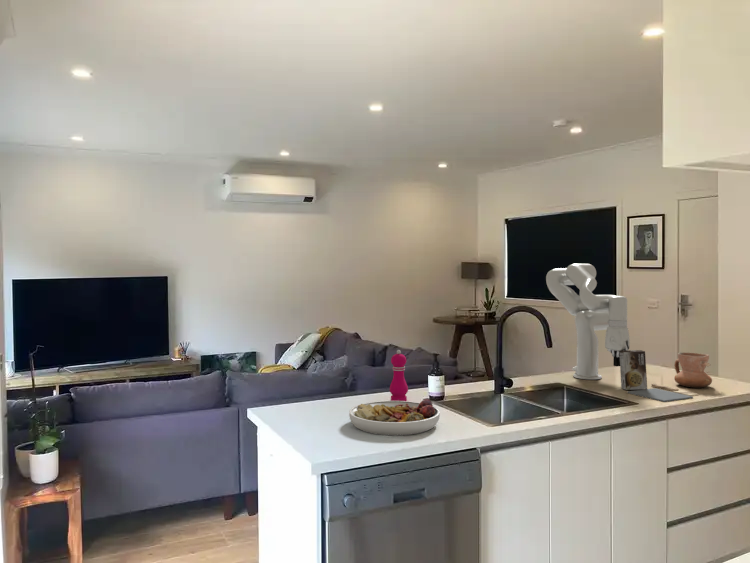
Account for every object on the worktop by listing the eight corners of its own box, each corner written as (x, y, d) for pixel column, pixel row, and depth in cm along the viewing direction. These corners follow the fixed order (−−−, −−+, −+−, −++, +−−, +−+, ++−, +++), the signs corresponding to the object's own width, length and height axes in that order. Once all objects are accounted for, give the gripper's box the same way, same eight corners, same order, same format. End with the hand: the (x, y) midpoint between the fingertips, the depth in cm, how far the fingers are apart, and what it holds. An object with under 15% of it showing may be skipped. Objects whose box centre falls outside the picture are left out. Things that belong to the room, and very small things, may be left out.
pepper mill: (410, 399, 236) (410, 349, 236) (403, 403, 230) (403, 351, 229) (393, 398, 239) (393, 348, 239) (386, 401, 233) (386, 350, 232)
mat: (627, 392, 247) (627, 391, 247) (655, 389, 254) (655, 388, 254) (664, 402, 231) (664, 400, 231) (693, 398, 238) (693, 396, 238)
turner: (648, 387, 259) (648, 384, 259) (657, 386, 261) (657, 383, 261) (689, 396, 241) (689, 393, 241) (698, 395, 243) (698, 392, 243)
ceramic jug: (722, 389, 255) (722, 355, 255) (695, 390, 251) (695, 356, 251) (689, 382, 272) (689, 350, 272) (663, 383, 268) (663, 351, 268)
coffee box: (642, 387, 257) (640, 349, 258) (647, 389, 251) (645, 351, 251) (620, 387, 258) (618, 350, 259) (625, 389, 252) (623, 351, 252)
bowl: (370, 443, 180) (370, 417, 179) (336, 419, 207) (336, 397, 207) (456, 432, 192) (456, 407, 191) (413, 411, 219) (413, 389, 219)
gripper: (598, 323, 267) (598, 364, 268) (624, 326, 253) (624, 369, 254) (611, 322, 270) (610, 362, 271) (637, 325, 257) (637, 367, 257)
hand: (617, 365), depth 262 cm, fingers closed
